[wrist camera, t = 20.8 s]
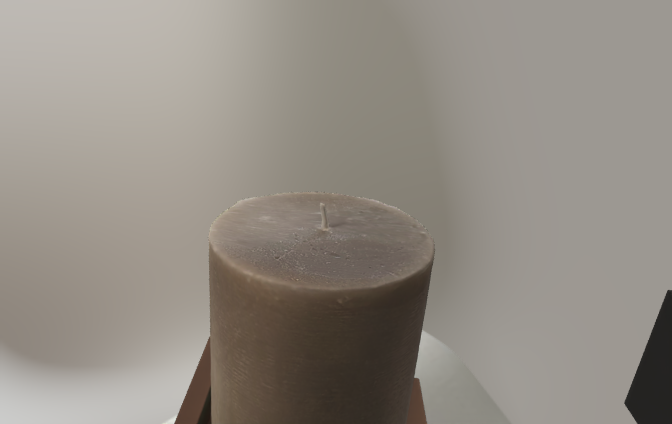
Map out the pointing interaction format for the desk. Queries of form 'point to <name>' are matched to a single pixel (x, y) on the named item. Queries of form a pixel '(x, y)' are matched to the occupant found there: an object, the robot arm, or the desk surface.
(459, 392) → the desk surface
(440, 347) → the desk surface
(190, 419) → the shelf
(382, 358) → the pillar candle
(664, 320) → the robot arm
